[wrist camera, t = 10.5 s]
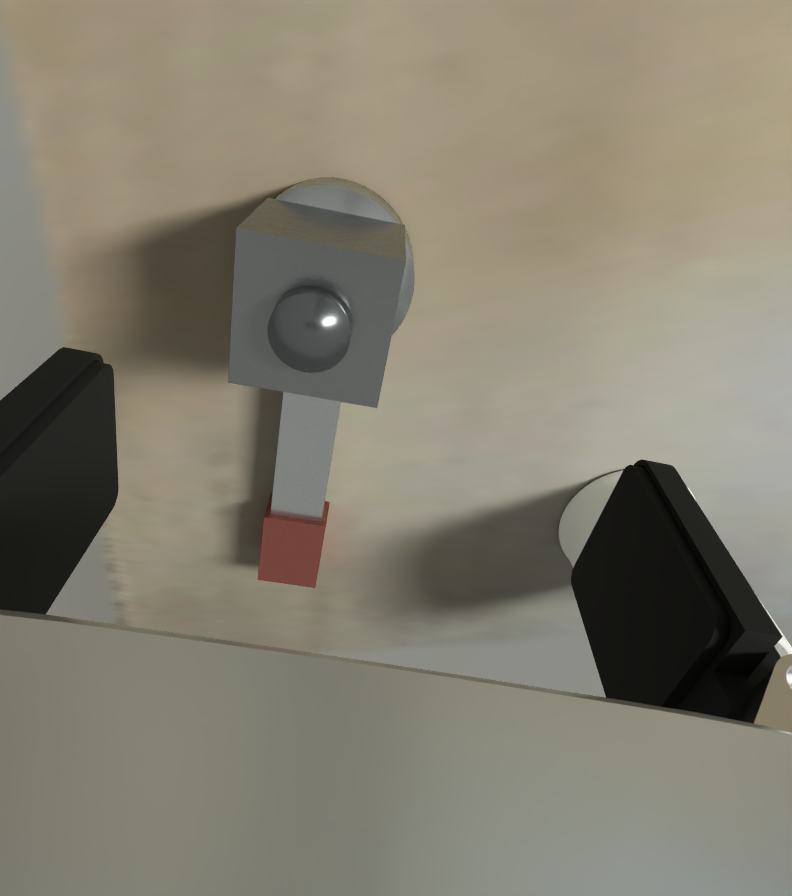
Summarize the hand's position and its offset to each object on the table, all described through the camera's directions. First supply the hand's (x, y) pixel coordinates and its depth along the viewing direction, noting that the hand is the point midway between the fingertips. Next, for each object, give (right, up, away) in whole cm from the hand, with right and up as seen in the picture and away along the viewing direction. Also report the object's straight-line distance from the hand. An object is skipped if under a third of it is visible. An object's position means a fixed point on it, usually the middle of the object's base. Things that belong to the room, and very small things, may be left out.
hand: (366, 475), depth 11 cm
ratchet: (-4, +3, +23) cm, 24 cm away
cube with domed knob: (-3, +8, +17) cm, 19 cm away
